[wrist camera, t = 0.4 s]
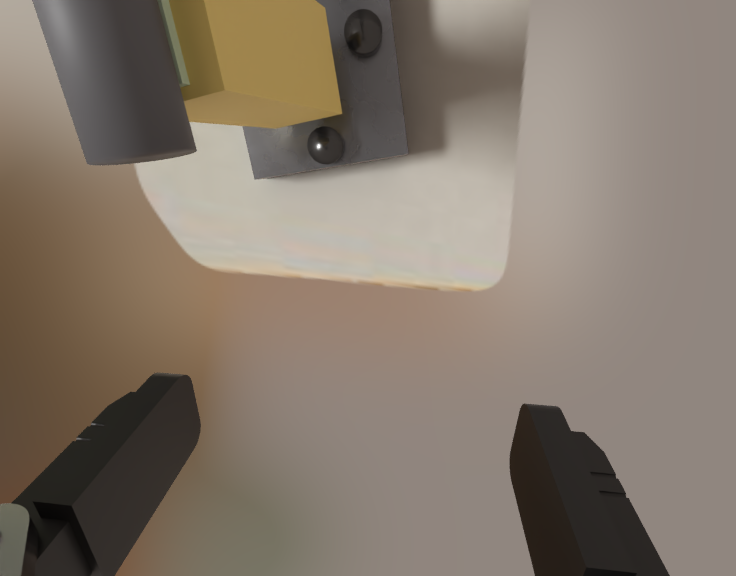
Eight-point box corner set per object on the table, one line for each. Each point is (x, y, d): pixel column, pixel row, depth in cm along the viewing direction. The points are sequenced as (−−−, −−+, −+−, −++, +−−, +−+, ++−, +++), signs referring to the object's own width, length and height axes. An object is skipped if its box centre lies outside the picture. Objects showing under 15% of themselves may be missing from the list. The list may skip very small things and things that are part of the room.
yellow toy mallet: (265, 4, 27) (-86, -200, 11) (332, -19, 26) (31, -301, 10) (295, 158, 30) (48, 170, 14) (357, 146, 28) (158, 144, 12)
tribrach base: (229, 18, 31) (207, -5, 27) (385, -13, 30) (385, -41, 26) (265, 178, 34) (249, 179, 30) (406, 155, 33) (409, 153, 29)
